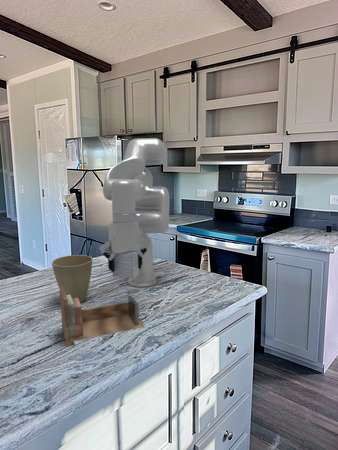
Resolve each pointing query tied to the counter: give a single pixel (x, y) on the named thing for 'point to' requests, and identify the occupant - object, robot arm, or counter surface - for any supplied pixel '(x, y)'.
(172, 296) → the counter surface
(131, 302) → the bookend
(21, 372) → the counter surface
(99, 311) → the rack
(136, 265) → the medicine box
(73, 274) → the plant pot
